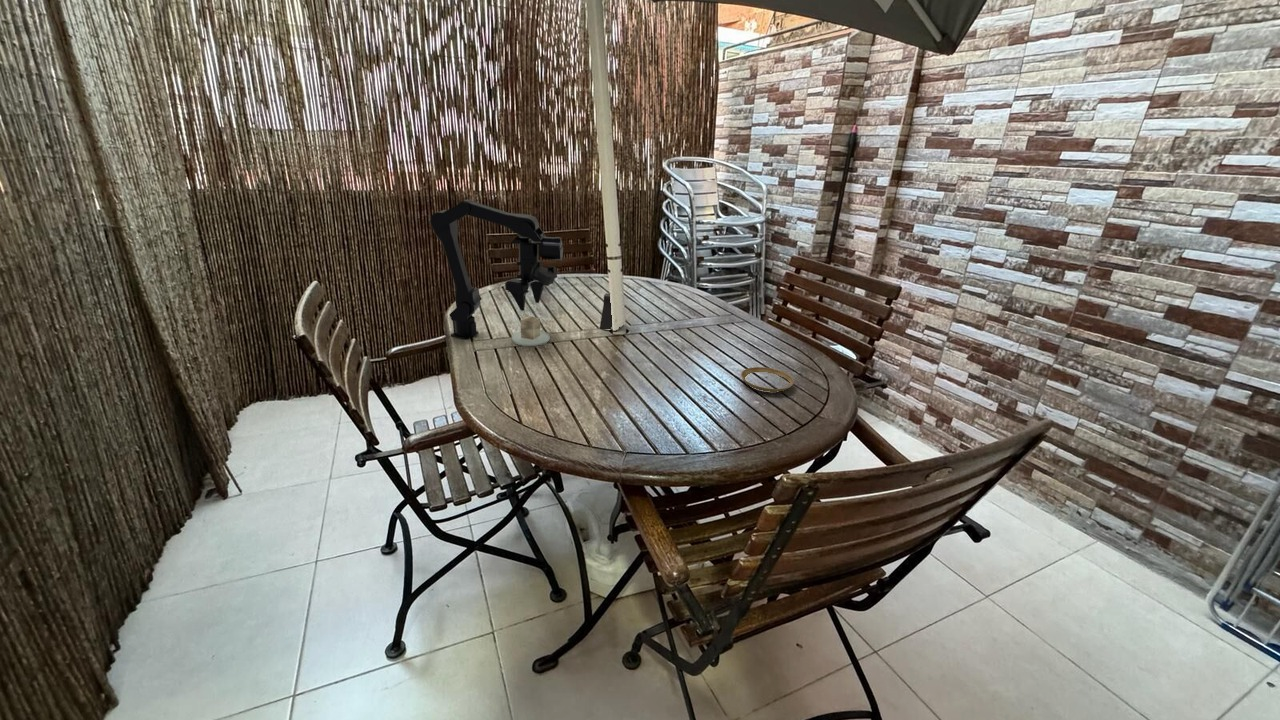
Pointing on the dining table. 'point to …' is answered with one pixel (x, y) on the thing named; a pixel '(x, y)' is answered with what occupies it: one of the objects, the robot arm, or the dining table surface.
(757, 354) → the dining table surface
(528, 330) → the birch block
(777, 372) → the tan ring
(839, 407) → the dining table surface
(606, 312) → the phone stand
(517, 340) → the dish
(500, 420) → the dining table surface
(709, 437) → the dining table surface
